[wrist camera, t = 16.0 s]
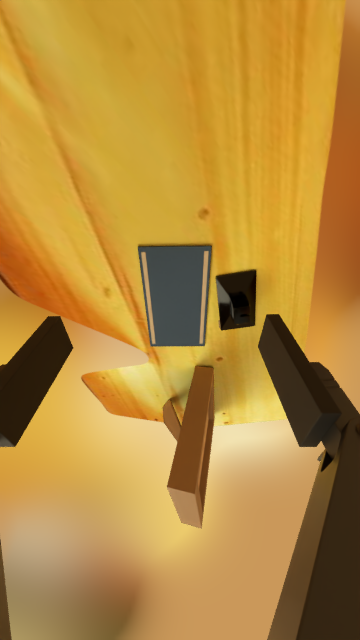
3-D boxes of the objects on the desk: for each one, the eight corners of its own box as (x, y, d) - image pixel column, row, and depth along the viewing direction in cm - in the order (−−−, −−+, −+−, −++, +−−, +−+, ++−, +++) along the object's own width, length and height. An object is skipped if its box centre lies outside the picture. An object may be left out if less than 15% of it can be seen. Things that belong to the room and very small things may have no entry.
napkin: (138, 246, 35) (137, 247, 35) (211, 245, 35) (211, 246, 35) (150, 345, 48) (150, 346, 48) (204, 344, 48) (204, 346, 48)
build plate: (254, 324, 45) (260, 339, 41) (219, 329, 46) (222, 344, 42) (255, 269, 38) (264, 281, 34) (214, 276, 38) (217, 288, 35)
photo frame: (213, 364, 52) (232, 493, 32) (214, 414, 65) (228, 528, 45) (152, 368, 53) (134, 495, 33) (165, 416, 66) (158, 529, 46)
